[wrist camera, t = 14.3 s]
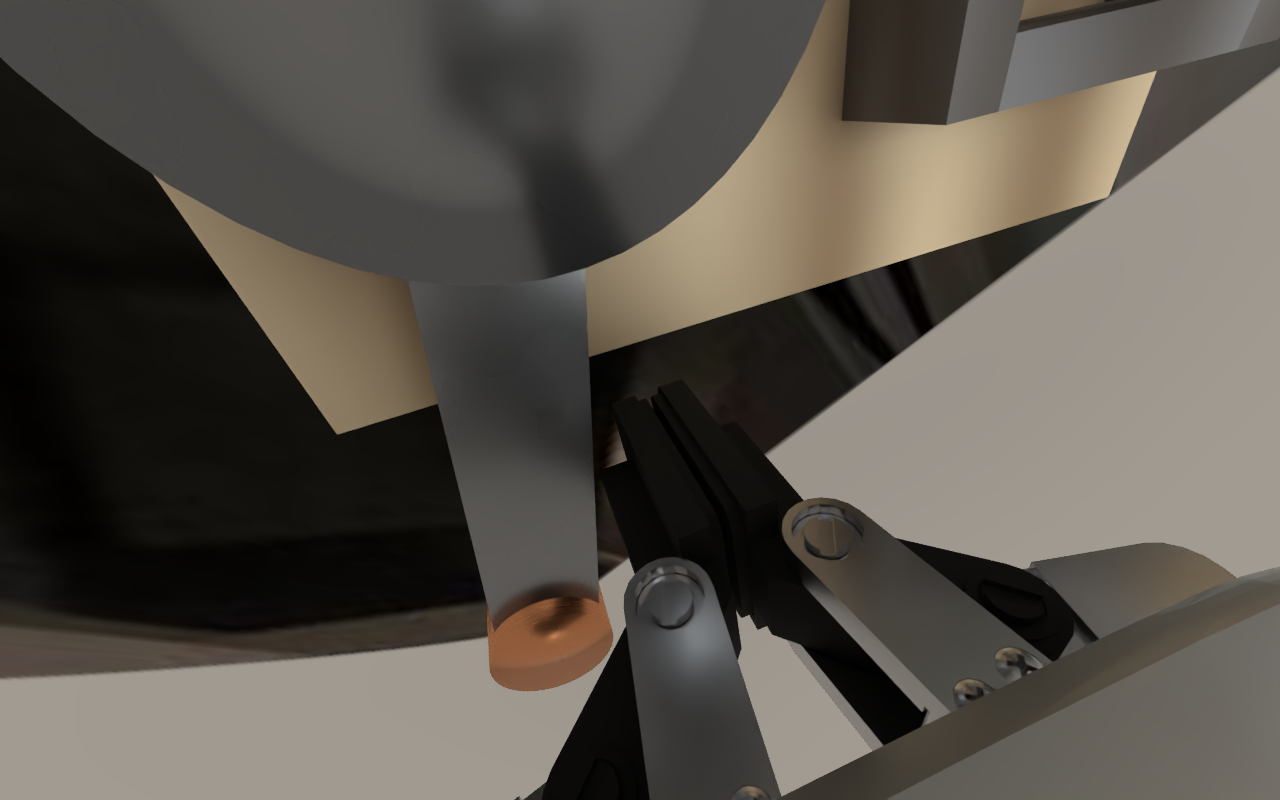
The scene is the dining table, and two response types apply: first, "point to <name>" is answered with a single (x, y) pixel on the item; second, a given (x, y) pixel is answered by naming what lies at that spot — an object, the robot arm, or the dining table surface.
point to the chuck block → (801, 179)
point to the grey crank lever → (448, 202)
